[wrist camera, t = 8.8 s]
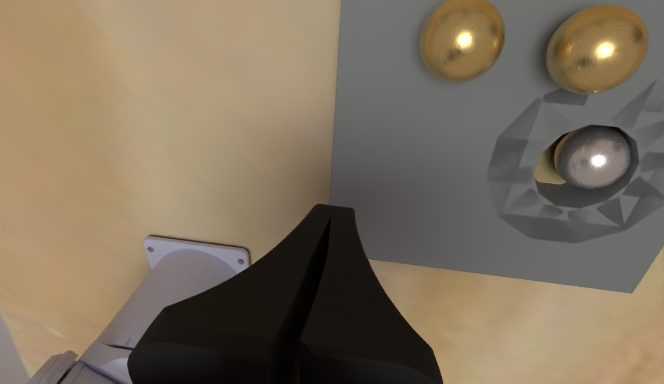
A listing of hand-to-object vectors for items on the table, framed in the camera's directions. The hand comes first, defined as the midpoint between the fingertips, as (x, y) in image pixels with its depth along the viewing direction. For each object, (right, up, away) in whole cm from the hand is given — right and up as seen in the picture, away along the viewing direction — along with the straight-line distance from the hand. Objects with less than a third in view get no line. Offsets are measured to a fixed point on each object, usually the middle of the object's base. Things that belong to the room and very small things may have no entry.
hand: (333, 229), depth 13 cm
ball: (+13, +3, +6) cm, 15 cm away
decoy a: (+5, +7, +2) cm, 9 cm away
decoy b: (+10, +7, +1) cm, 12 cm away
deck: (+9, +4, +8) cm, 13 cm away
